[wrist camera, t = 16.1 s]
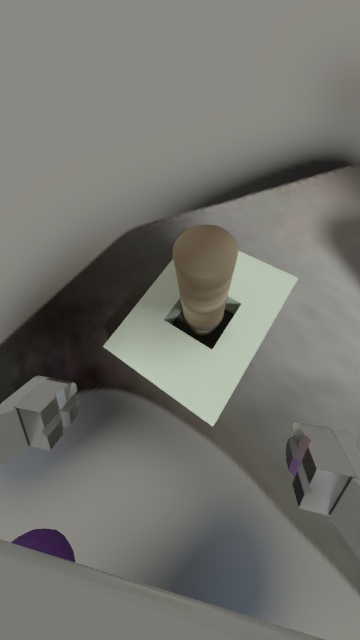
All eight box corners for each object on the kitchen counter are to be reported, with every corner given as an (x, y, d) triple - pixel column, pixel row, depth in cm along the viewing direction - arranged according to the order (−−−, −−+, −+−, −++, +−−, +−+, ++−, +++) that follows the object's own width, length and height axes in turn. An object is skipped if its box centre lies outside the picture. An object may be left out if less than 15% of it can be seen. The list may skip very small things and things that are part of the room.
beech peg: (227, 317, 24) (251, 239, 13) (208, 347, 23) (216, 290, 12) (197, 300, 25) (194, 215, 14) (178, 328, 24) (158, 259, 13)
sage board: (287, 292, 24) (298, 278, 22) (211, 424, 20) (213, 426, 17) (195, 248, 28) (195, 230, 25) (114, 353, 24) (102, 346, 21)
